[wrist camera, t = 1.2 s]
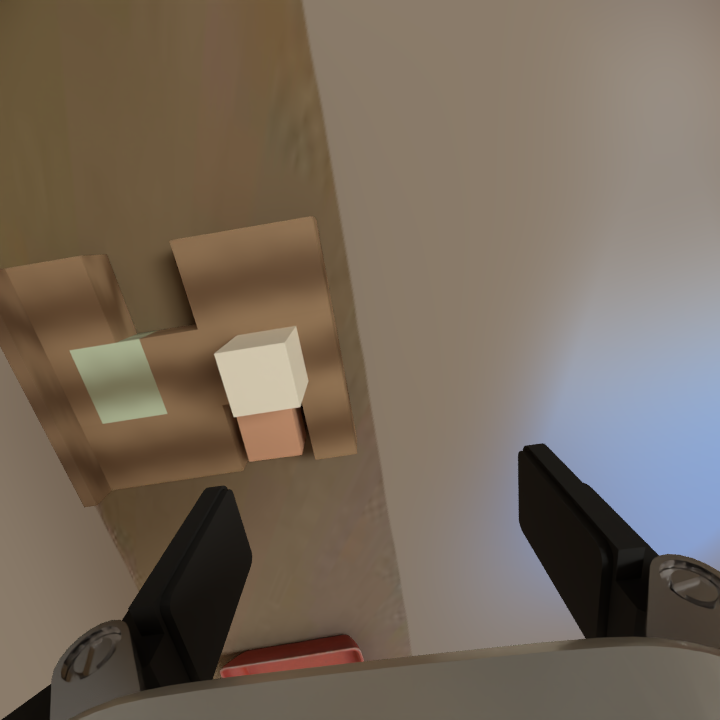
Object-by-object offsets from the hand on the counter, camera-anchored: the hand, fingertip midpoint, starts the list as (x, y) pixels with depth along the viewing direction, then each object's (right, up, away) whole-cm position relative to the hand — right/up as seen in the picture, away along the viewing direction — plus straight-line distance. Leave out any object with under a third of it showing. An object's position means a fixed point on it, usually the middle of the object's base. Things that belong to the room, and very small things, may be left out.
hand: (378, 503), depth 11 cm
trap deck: (-14, +5, +21) cm, 26 cm away
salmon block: (-9, -1, +23) cm, 25 cm away
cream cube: (-8, +5, +18) cm, 20 cm away
